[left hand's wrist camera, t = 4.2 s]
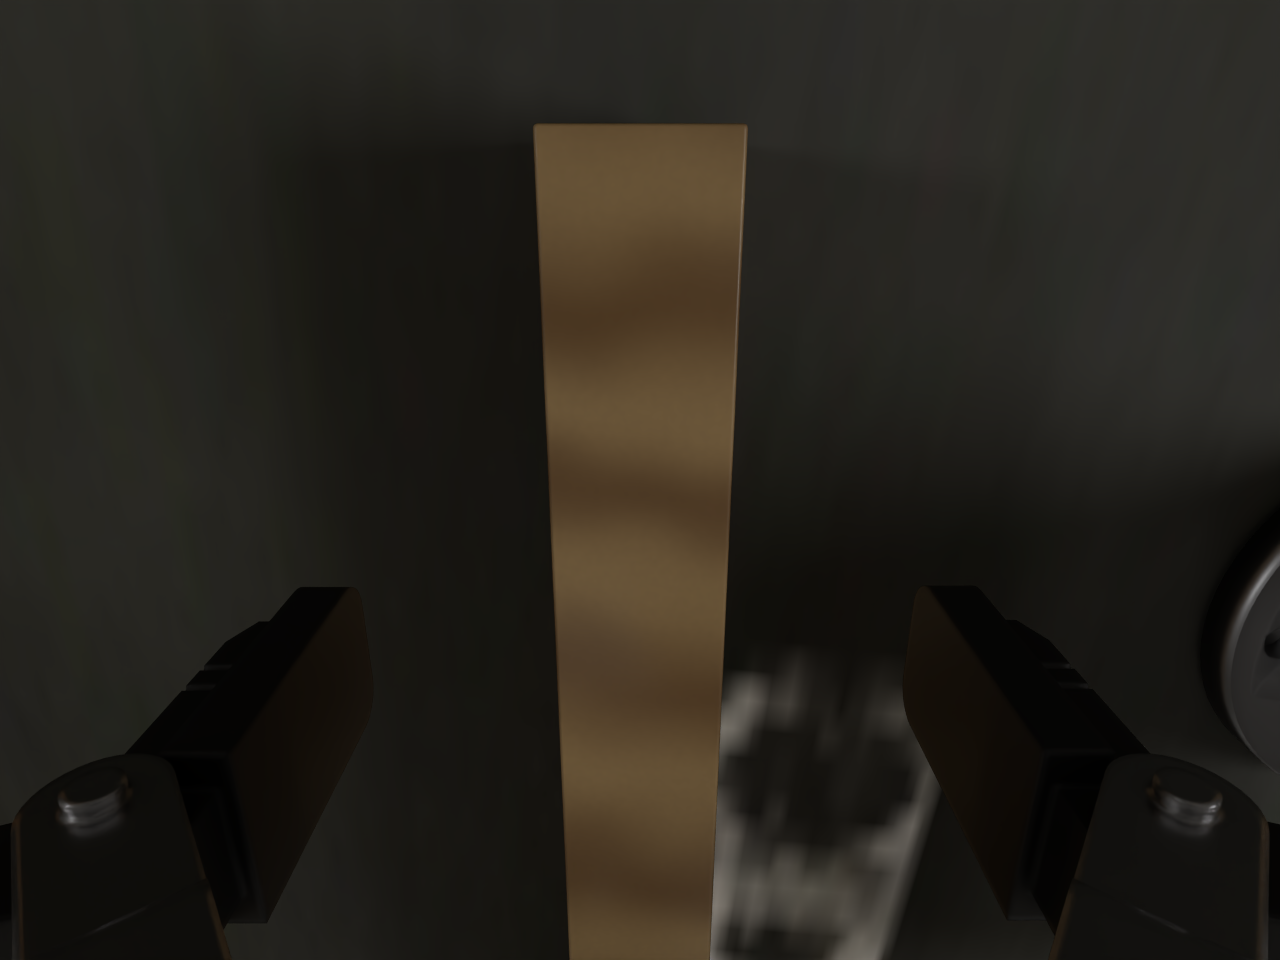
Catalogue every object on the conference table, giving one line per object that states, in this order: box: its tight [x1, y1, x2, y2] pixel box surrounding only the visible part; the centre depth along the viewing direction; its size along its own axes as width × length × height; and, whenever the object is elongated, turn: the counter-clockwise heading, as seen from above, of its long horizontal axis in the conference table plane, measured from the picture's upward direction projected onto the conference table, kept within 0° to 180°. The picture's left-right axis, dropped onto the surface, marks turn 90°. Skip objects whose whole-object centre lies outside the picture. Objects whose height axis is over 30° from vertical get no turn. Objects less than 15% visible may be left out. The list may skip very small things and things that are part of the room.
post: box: [533, 123, 748, 960], centre depth 30 cm, size 52×5×9 cm, turn 0°
